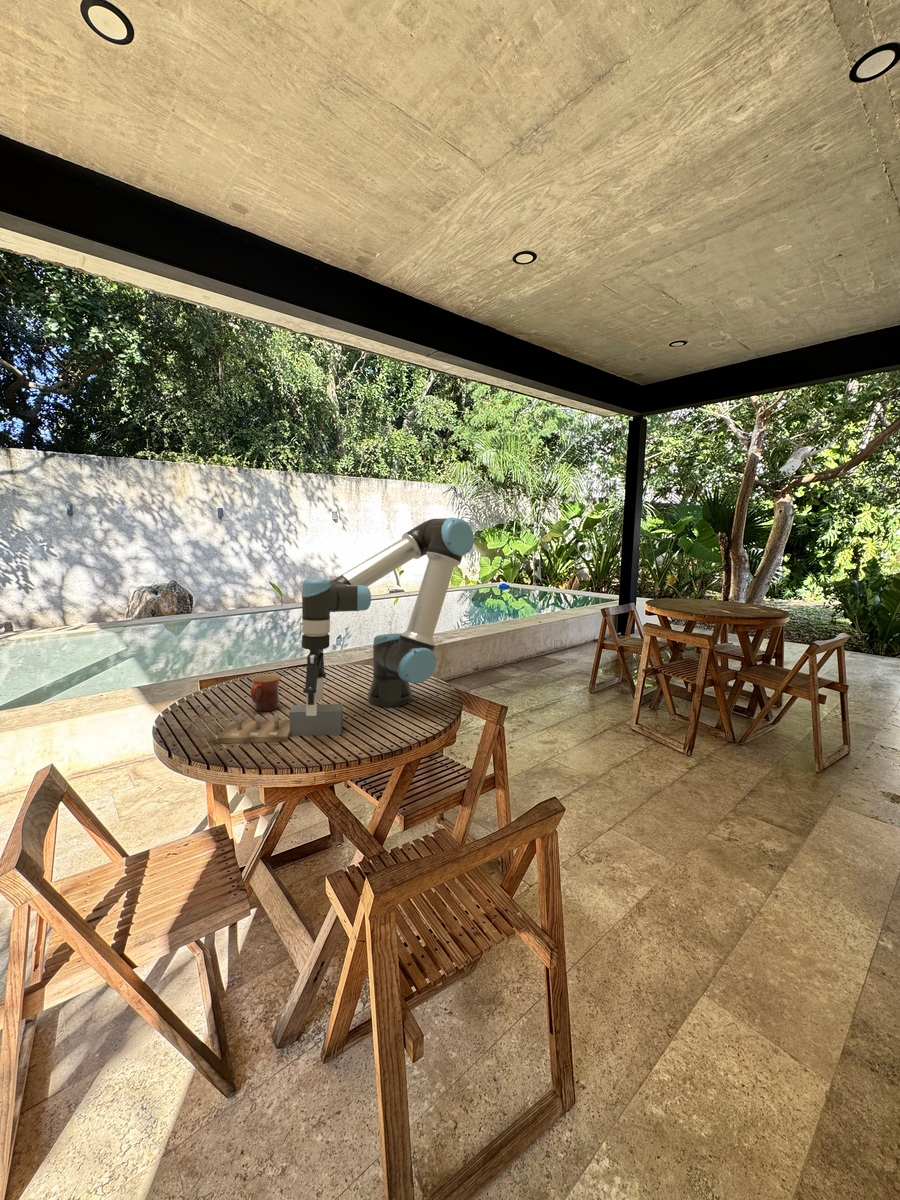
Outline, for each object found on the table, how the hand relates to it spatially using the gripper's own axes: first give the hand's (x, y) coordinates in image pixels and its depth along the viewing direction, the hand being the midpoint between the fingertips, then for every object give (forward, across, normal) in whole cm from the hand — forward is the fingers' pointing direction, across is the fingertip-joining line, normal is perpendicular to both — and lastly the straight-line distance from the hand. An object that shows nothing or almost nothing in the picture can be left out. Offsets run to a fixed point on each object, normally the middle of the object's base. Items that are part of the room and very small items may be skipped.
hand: (315, 707), depth 140 cm
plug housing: (+7, 0, +1) cm, 7 cm away
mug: (+8, -18, -18) cm, 27 cm away
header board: (+8, +1, -15) cm, 17 cm away
